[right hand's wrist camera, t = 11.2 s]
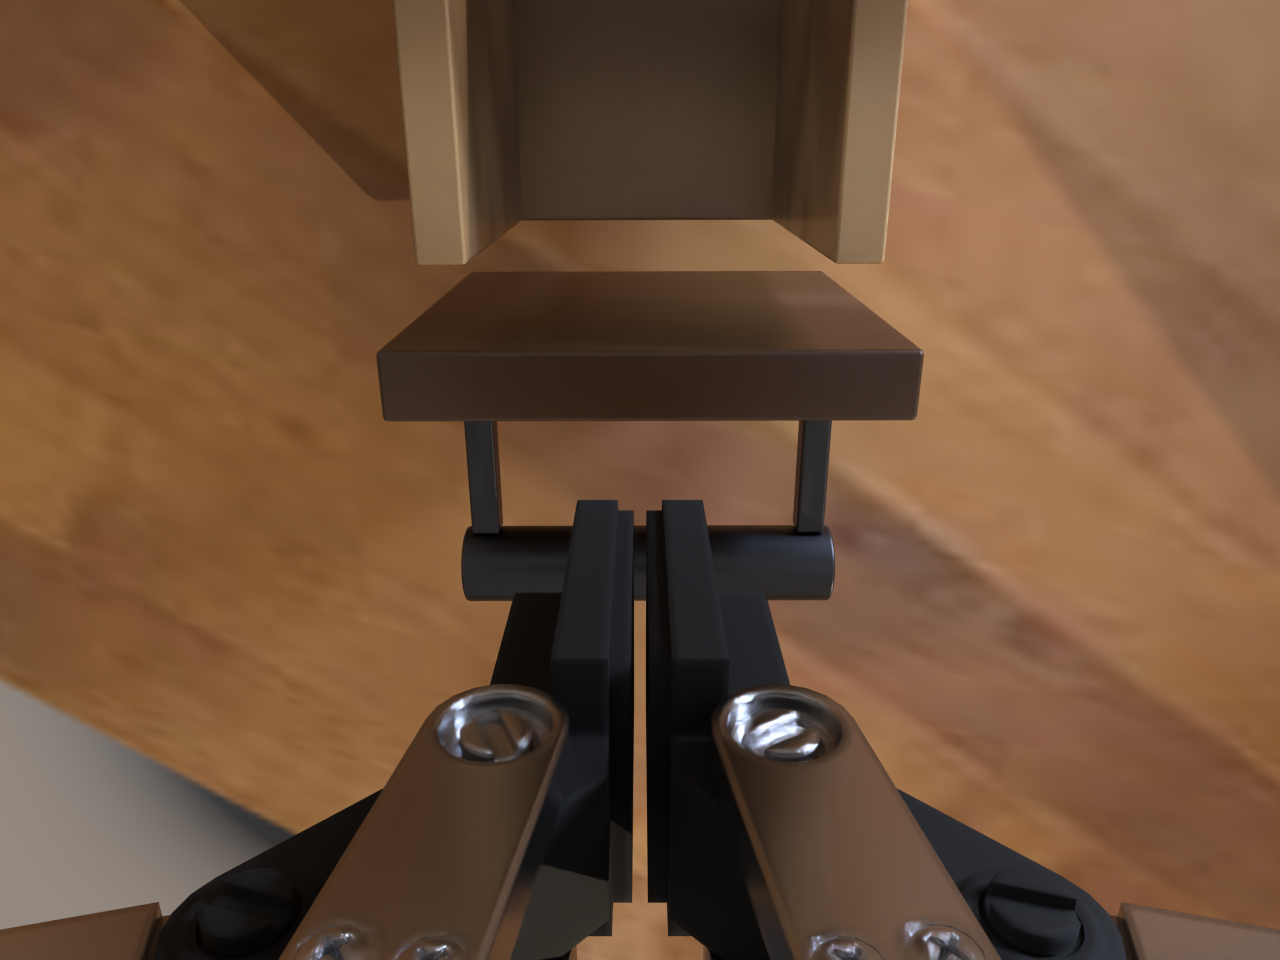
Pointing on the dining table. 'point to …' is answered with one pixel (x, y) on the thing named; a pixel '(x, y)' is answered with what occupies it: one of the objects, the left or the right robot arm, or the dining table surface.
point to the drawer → (650, 190)
